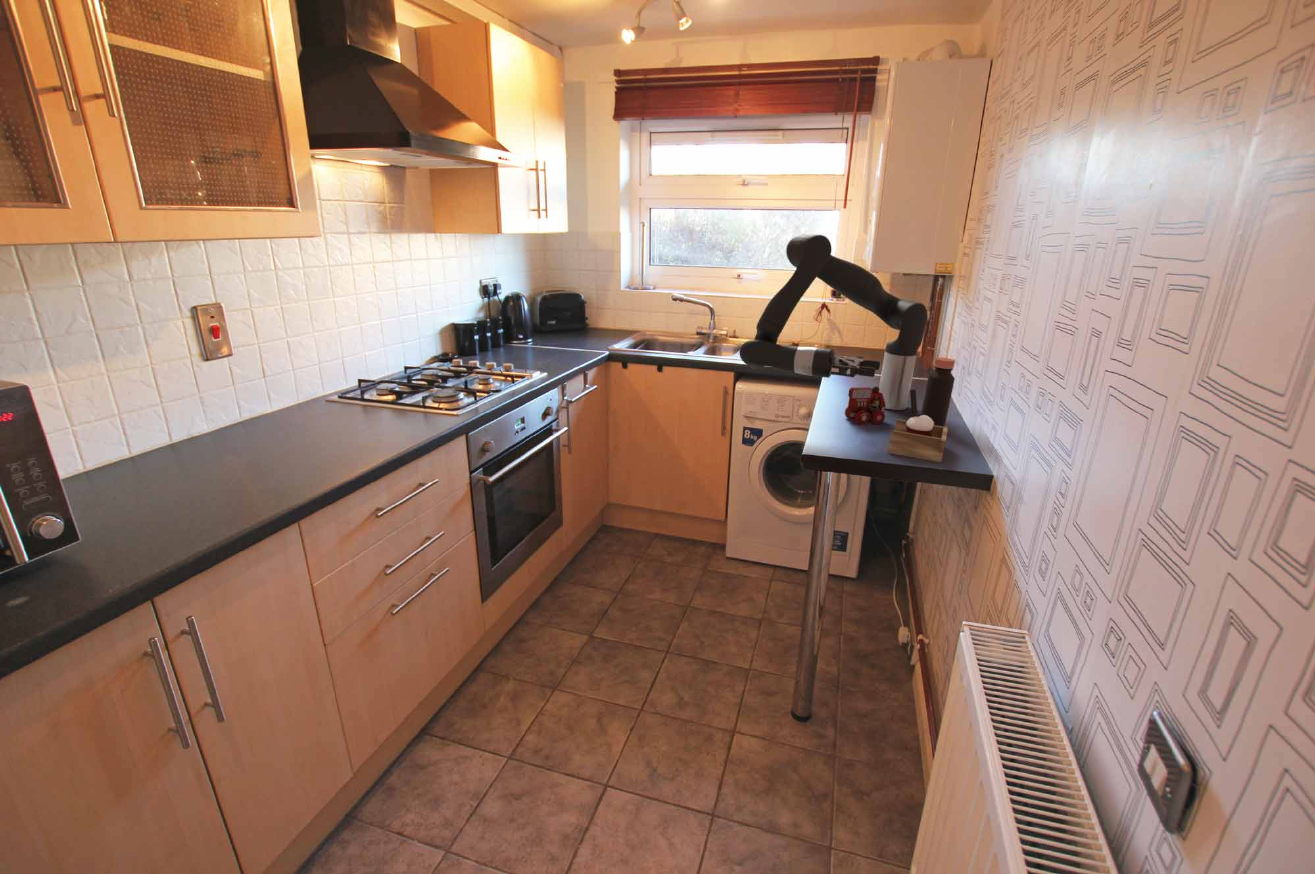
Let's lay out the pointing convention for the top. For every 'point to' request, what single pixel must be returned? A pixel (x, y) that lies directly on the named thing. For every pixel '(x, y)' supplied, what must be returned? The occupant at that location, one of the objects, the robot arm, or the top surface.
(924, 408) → the bottle
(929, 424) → the cocoa
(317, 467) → the top surface
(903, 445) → the wooden tray
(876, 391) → the toy fire truck
